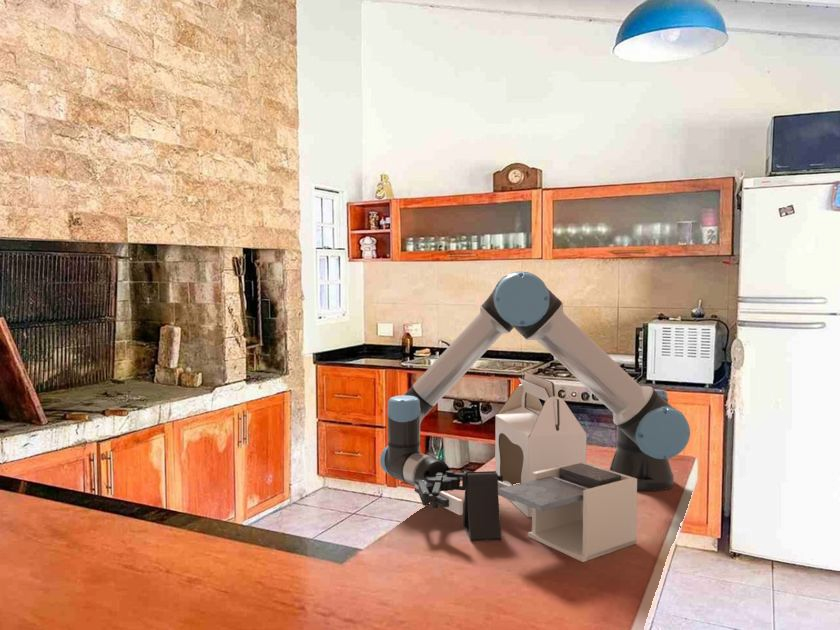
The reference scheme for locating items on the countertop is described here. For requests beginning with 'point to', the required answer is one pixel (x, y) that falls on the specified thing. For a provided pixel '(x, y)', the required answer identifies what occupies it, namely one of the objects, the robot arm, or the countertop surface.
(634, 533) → the frame
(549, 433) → the gable box
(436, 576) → the countertop surface
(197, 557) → the countertop surface
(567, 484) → the trapdoor
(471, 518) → the phone stand
